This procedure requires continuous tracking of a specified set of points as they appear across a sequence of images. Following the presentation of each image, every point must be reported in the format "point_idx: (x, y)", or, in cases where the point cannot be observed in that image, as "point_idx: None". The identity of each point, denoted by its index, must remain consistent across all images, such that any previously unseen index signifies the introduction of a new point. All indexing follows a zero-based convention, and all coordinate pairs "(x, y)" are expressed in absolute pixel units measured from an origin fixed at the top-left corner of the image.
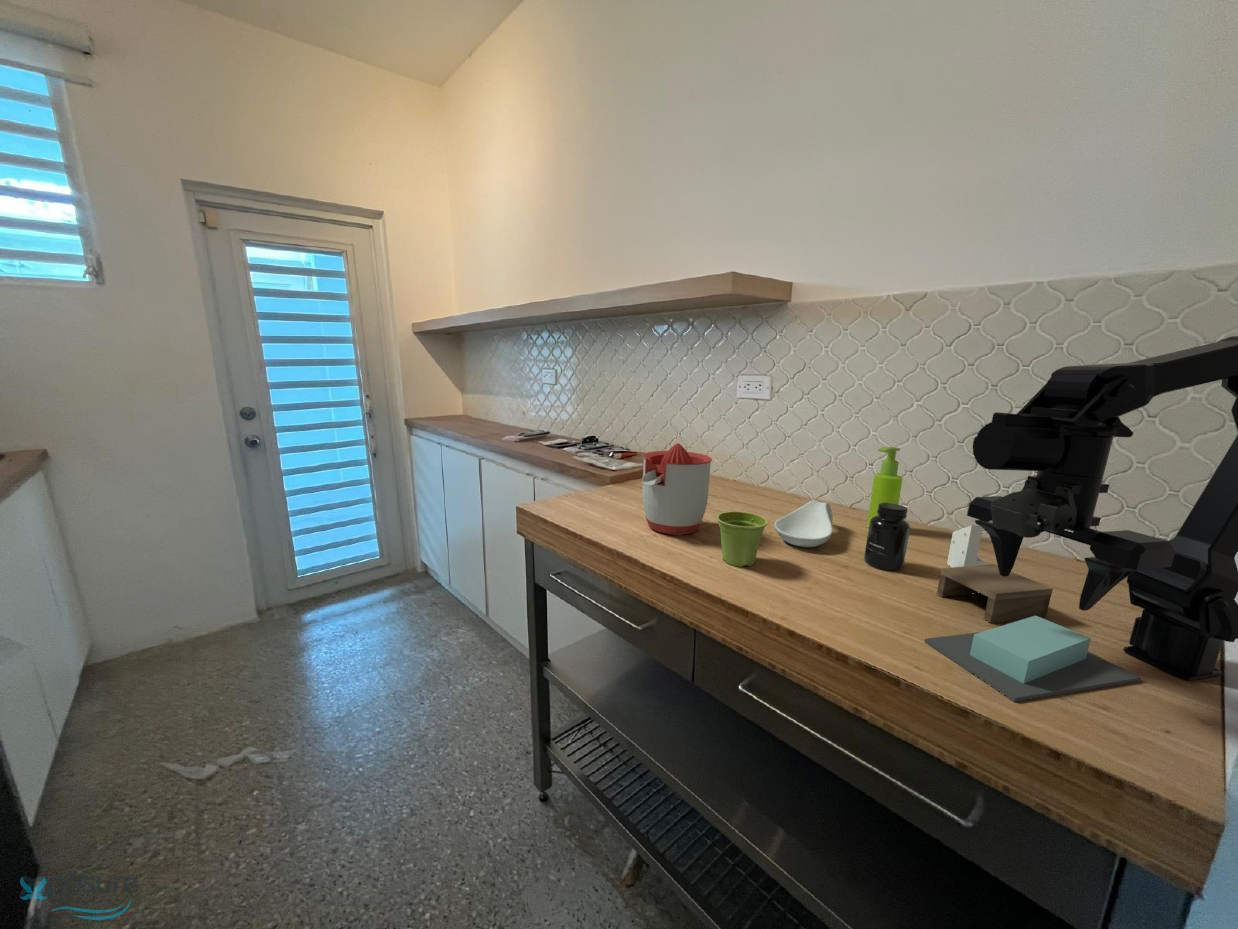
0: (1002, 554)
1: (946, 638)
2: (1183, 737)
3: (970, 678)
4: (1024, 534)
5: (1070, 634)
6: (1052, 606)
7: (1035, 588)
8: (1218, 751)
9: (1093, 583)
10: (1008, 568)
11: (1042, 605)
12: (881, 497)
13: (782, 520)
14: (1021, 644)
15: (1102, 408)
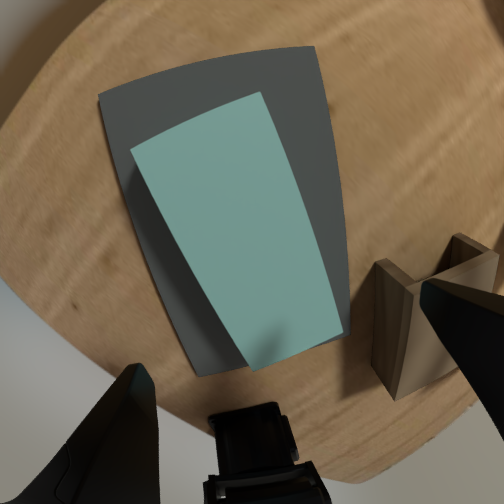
0: (497, 315)
1: (318, 97)
2: (69, 315)
3: (173, 54)
4: None
5: (266, 347)
6: None
7: (404, 379)
8: (56, 331)
9: (60, 462)
10: (439, 316)
11: (382, 371)
12: None
13: None
14: (211, 192)
15: None
